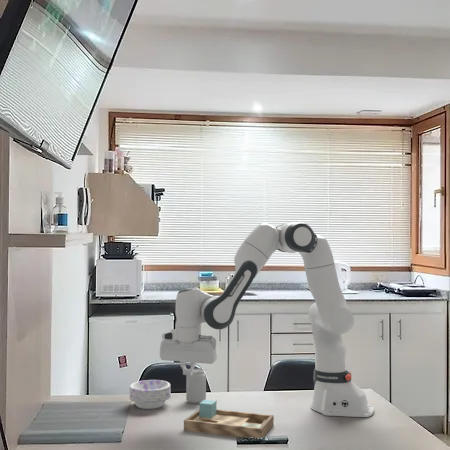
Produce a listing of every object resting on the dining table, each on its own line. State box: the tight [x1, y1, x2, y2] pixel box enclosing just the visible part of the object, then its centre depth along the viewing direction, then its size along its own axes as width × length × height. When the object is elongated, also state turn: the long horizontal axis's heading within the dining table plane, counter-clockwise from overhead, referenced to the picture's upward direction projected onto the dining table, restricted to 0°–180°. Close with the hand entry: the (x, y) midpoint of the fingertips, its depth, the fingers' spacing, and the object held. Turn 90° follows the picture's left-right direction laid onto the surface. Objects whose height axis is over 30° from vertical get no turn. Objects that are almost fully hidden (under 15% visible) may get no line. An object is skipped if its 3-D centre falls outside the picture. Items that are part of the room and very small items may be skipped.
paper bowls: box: [129, 379, 172, 410], centre depth 209 cm, size 15×15×8 cm
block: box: [198, 399, 217, 418], centre depth 190 cm, size 4×4×4 cm
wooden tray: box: [183, 408, 275, 438], centre depth 183 cm, size 26×15×3 cm, turn 71°
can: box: [185, 368, 207, 405], centre depth 214 cm, size 8×8×12 cm
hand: (187, 374), depth 193 cm, fingers closed
